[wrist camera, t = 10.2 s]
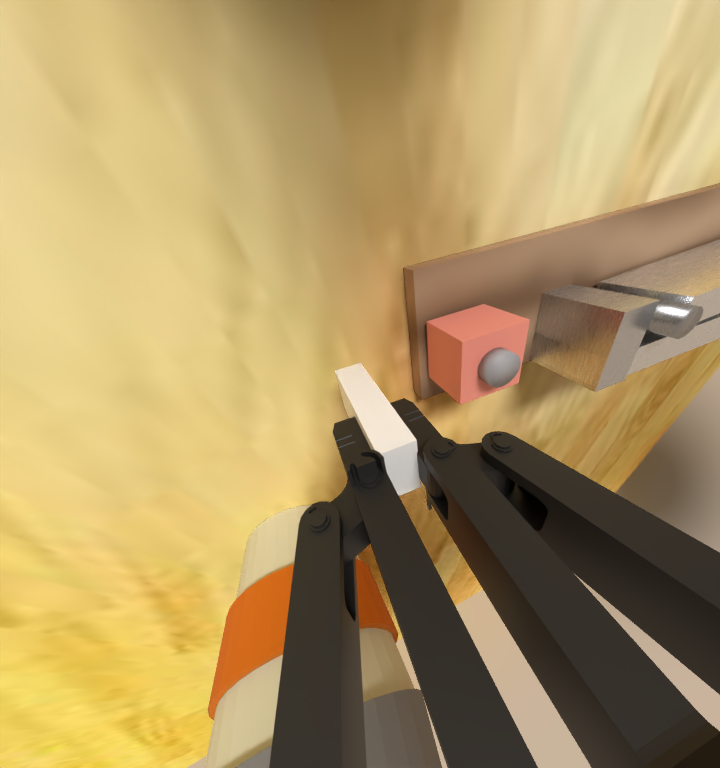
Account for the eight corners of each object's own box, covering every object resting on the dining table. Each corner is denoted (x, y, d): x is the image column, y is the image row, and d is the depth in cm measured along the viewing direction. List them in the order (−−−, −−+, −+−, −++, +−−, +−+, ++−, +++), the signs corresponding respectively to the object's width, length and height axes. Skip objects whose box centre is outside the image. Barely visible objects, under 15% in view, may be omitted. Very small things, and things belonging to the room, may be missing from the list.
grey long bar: (542, 293, 18) (625, 312, 14) (771, 221, 22) (891, 219, 17) (529, 359, 21) (594, 391, 17) (733, 286, 24) (829, 298, 20)
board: (403, 267, 15) (413, 270, 14) (787, 165, 21) (813, 162, 20) (414, 391, 20) (421, 399, 19) (721, 283, 26) (740, 285, 25)
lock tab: (426, 321, 16) (473, 347, 12) (483, 303, 17) (543, 324, 13) (428, 376, 18) (469, 412, 15) (479, 359, 19) (529, 389, 15)
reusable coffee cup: (354, 472, 23) (461, 758, 11) (366, 547, 29) (440, 776, 17) (198, 522, 20) (96, 982, 8) (249, 592, 27) (237, 901, 15)
